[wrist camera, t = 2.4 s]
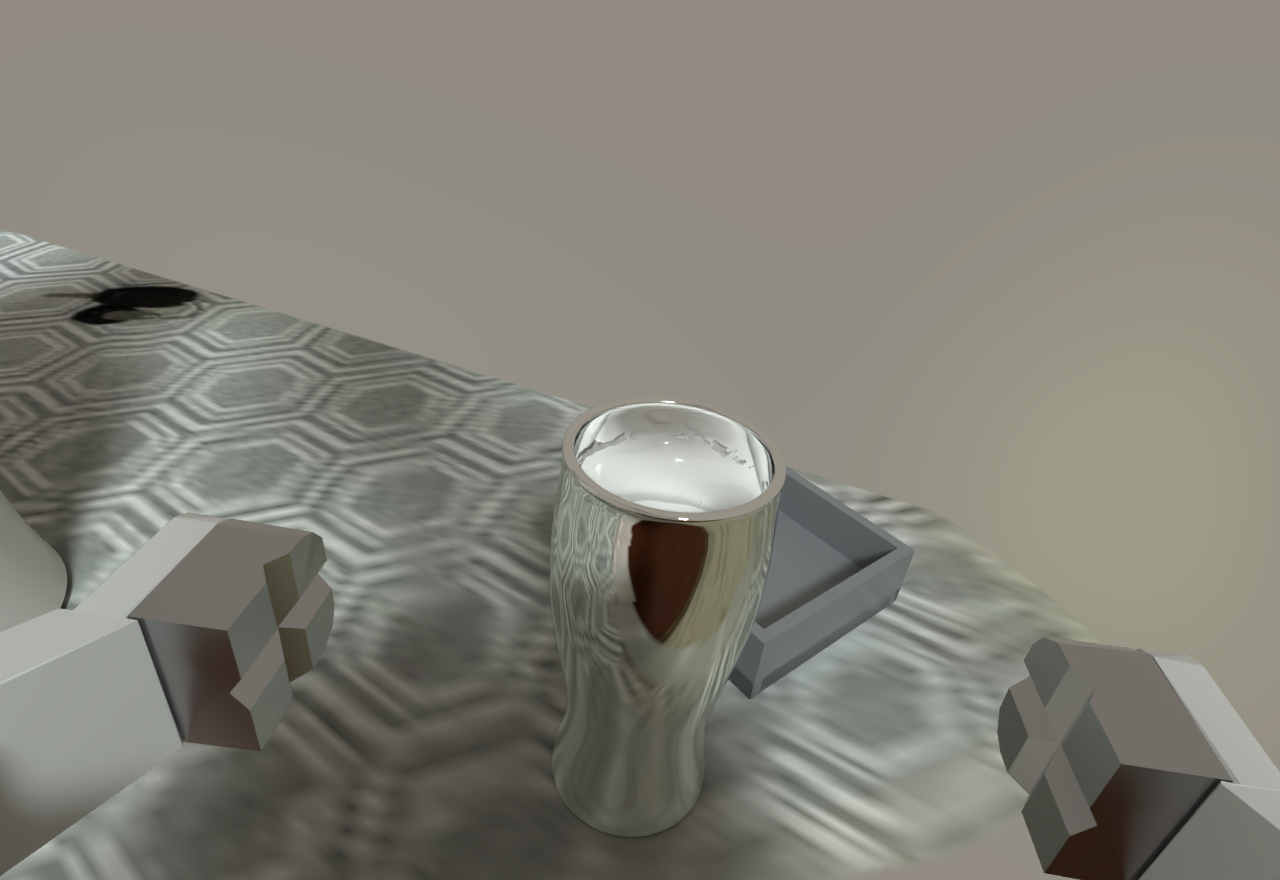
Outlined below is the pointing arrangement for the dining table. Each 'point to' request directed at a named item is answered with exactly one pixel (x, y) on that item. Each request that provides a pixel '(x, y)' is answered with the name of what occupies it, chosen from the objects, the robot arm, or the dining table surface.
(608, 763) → the silver tall rounded piece
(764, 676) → the box
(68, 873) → the dining table surface
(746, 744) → the dining table surface
